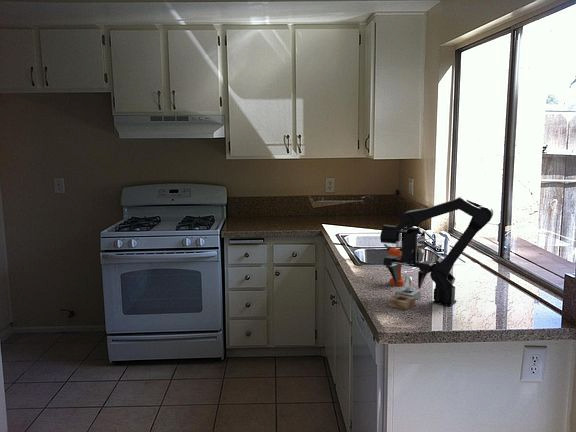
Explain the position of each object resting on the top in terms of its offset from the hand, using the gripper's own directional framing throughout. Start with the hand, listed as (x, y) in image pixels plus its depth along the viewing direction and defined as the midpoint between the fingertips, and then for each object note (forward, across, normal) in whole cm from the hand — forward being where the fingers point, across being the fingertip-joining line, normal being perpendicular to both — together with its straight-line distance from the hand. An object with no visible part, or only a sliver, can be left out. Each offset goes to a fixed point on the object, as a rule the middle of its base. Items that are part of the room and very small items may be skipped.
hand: (408, 286), depth 191 cm
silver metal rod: (+4, 0, 0) cm, 4 cm away
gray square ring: (+4, 0, 0) cm, 4 cm away
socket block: (+4, -2, +9) cm, 10 cm away
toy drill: (+5, +15, -17) cm, 23 cm away
